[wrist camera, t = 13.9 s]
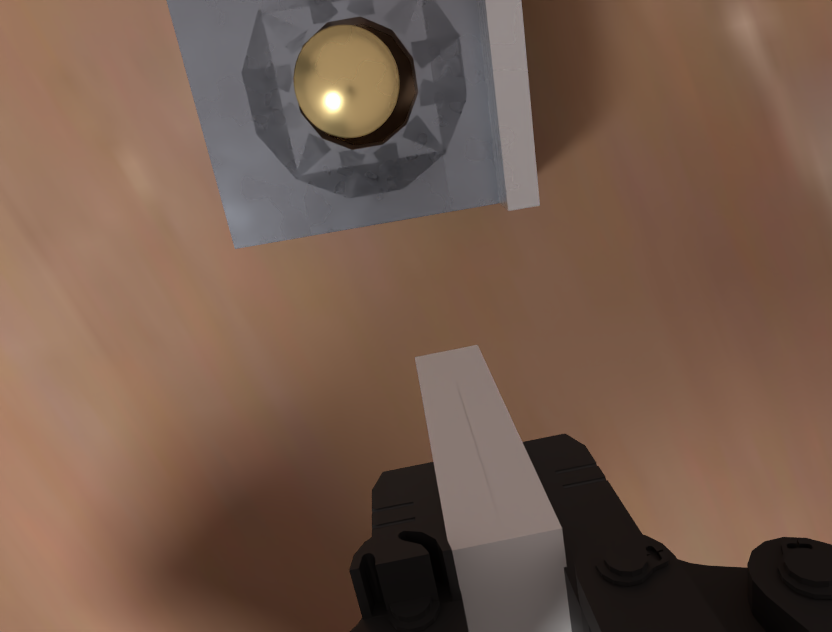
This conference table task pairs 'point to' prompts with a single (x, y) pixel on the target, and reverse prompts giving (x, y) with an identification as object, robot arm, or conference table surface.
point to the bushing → (346, 81)
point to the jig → (373, 162)
